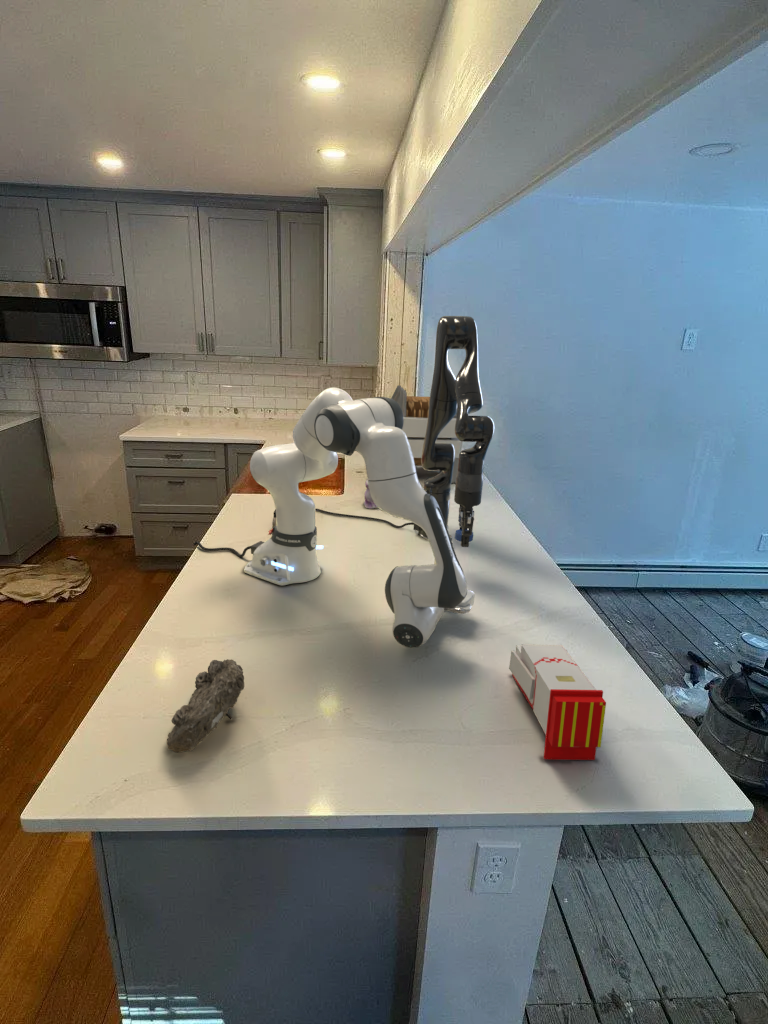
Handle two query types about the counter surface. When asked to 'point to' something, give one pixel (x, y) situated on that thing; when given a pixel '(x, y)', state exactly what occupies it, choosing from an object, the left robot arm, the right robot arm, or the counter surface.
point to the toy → (560, 700)
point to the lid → (459, 535)
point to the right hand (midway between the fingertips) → (463, 542)
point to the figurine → (368, 497)
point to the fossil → (206, 705)
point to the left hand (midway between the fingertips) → (441, 581)
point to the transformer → (424, 426)
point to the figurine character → (274, 519)
